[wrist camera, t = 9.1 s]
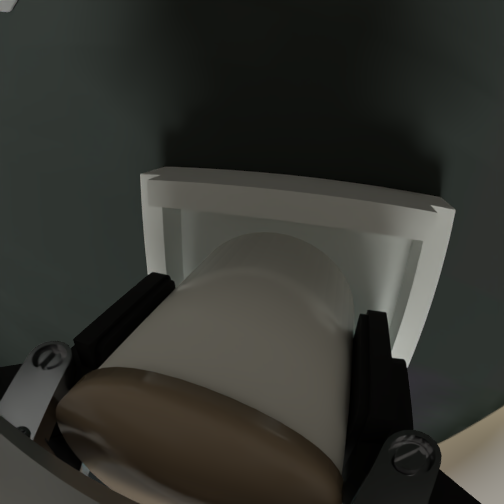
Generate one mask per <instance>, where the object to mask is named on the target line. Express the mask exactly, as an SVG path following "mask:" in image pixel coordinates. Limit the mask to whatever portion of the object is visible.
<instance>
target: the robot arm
mask: <svg viewBox="0 0 504 504" xmlns="http://www.w3.org/2000/svg"><path fill="white" fill-rule="evenodd" d="M175 289H176V287H175V282H174V281H173V280H171V278H170V276H169V275H166V274H161V273H156V272H152V273H150V274H149V275H148V276H146V277H145V278H144V279H143V280H142V281H140V282H139V283H138V284H137V285H136V286H134V287H133V288H132V289H131V290H130V291H128V292H127V293H126V294H125V295H124V296H122V297H121V298H120V299H119V300H118V301H117V302H115V303H114V304H113V305H112V306H111V307H110V308H108V309H107V310H106V311H105V312H104V313H103V314H101V315H100V316H99V317H98V318H97V319H96V320H95V321H93V322H92V323H91V324H90V325H89V326H88V327H87V328H85V329H84V330H83V331H82V332H81V333H80V334H79V335H78V336H76V337H75V338H74V339H73V340H74V343H75V345H74V346H73V347H72V348H70V347H69V345H67V344H66V343H64V342H61V341H49V342H44V343H42V344H40V345H38V346H37V347H35V348H34V349H33V350H32V351H31V352H30V353H29V355H28V356H27V358H26V360H25V361H24V363H23V364H18V365H12V366H5V367H0V504H140V503H138V502H136V501H133V500H131V499H129V498H127V497H125V496H123V495H121V494H119V493H117V492H115V491H113V490H111V489H109V488H107V487H106V486H104V485H102V484H100V483H98V482H96V481H95V480H93V479H91V478H89V477H88V473H89V469H88V468H87V467H86V466H85V465H84V464H83V463H82V462H81V460H80V459H79V458H78V457H77V456H76V454H75V453H74V452H73V451H72V449H71V448H70V446H69V445H68V444H67V442H66V440H65V439H64V437H63V435H62V433H61V431H60V429H59V426H58V423H57V419H56V408H57V404H58V403H59V402H60V400H61V399H62V398H63V397H64V396H65V395H66V394H67V393H68V392H69V391H70V390H71V389H72V388H73V387H74V386H75V384H76V383H77V382H78V381H79V380H80V379H81V378H82V377H83V376H84V375H86V374H87V373H89V372H91V371H93V370H96V369H98V368H99V367H100V366H101V365H102V364H103V363H104V362H105V361H106V360H107V359H108V358H109V357H110V356H111V354H112V353H113V352H114V351H115V350H116V349H117V348H118V347H119V346H120V345H121V344H122V343H123V342H124V341H125V340H126V339H127V338H128V337H129V336H130V335H131V334H132V333H133V332H134V330H135V329H136V328H137V327H138V326H139V325H140V324H141V323H142V322H143V321H144V320H145V319H146V318H147V317H148V316H149V315H150V314H151V313H152V312H153V311H154V310H155V309H156V308H157V307H158V306H159V305H160V304H161V303H162V302H163V301H164V300H165V299H166V298H167V297H168V296H169V295H170V294H171V293H172V292H173V291H174V290H175ZM440 464H441V452H440V448H439V446H438V445H437V443H436V442H435V440H433V439H432V438H431V437H430V436H429V435H427V434H425V433H423V432H421V431H416V430H413V418H412V407H411V398H410V389H409V380H408V373H407V366H406V361H405V360H404V359H399V358H392V353H391V344H390V335H389V327H388V320H387V313H386V312H381V311H374V310H367V313H366V314H361V313H360V315H359V318H358V322H357V326H356V330H355V334H354V338H353V358H352V376H351V391H350V404H349V415H348V426H347V435H346V444H345V453H344V461H343V468H342V477H343V480H344V486H345V491H344V498H343V504H481V503H480V502H479V501H477V500H476V499H475V498H474V497H473V496H471V495H470V494H469V493H468V492H466V491H465V490H464V489H463V488H462V487H460V486H459V485H458V484H457V483H455V482H454V481H453V480H452V479H451V478H449V477H448V476H447V475H446V474H444V473H443V472H442V471H441V470H440V469H439V468H440Z"/></svg>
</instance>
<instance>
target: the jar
mask: <svg viewBox="0 0 504 504" xmlns="http://www.w3.org/2000/svg"><path fill="white" fill-rule="evenodd" d="M353 334H354V303H353V296H352V293H351V290H350V287H349V284H348V282H347V280H346V278H345V276H344V275H343V273H342V272H341V270H340V269H339V267H338V266H337V265H336V264H335V263H334V262H333V261H332V260H331V259H330V258H329V257H328V256H327V255H326V254H324V253H323V252H322V251H321V250H319V249H318V248H316V247H315V246H313V245H311V244H309V243H307V242H305V241H303V240H301V239H298V238H295V237H292V236H290V235H285V234H280V233H272V232H256V233H249V234H244V235H241V236H238V237H235V238H232V239H230V240H228V241H226V242H224V243H223V244H221V245H220V246H218V247H217V248H216V249H215V250H214V251H213V252H212V253H211V254H210V255H209V256H208V257H207V258H206V259H205V260H204V261H203V262H202V263H201V264H199V265H198V266H197V267H196V268H195V269H194V270H193V271H192V272H191V273H190V274H189V275H188V276H187V277H186V279H185V280H184V281H183V282H182V283H181V284H180V285H179V286H178V287H177V288H176V289H175V290H174V291H173V292H172V293H171V294H170V295H169V296H168V297H167V298H166V299H165V300H164V301H163V302H162V303H161V304H160V305H159V306H158V307H157V308H156V309H155V310H154V311H153V312H152V313H151V314H150V315H149V316H148V317H147V318H146V319H145V320H144V321H143V322H142V323H141V324H140V325H139V326H138V327H137V328H136V329H135V330H134V332H133V333H132V334H131V335H130V336H129V337H128V338H127V339H126V340H125V341H124V342H123V343H122V344H121V345H120V346H119V347H118V348H117V349H116V350H115V351H114V352H113V353H112V354H111V356H110V357H109V358H108V359H107V360H106V361H105V362H104V363H103V364H102V365H101V366H100V367H99V368H98V369H96V370H93V371H91V372H89V373H87V374H86V375H84V376H83V377H82V378H81V379H80V380H79V381H78V382H77V383H76V384H75V386H74V387H73V388H72V389H71V390H70V391H69V392H68V393H67V394H66V395H65V396H64V397H63V398H62V399H61V400H60V402H59V403H58V404H57V408H56V419H57V423H58V426H59V429H60V431H61V433H62V435H63V437H64V439H65V440H66V442H67V444H68V445H69V446H70V448H71V449H72V451H73V452H74V453H75V454H76V456H77V457H78V458H79V459H80V460H81V462H82V463H83V464H84V465H85V466H86V467H87V468H88V469H89V470H90V471H91V472H92V473H93V474H94V475H95V476H96V477H97V478H99V479H100V480H101V481H102V482H103V483H104V484H106V485H107V486H108V487H109V488H111V489H112V490H113V491H115V492H117V493H119V494H121V495H123V496H125V497H127V498H129V499H131V500H133V501H136V502H138V503H140V504H343V498H344V491H345V486H344V480H343V477H342V468H343V461H344V453H345V444H346V435H347V426H348V415H349V404H350V391H351V376H352V358H353Z"/></svg>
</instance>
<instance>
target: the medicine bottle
mask: <svg viewBox="0 0 504 504" xmlns="http://www.w3.org/2000/svg"><path fill="white" fill-rule="evenodd" d="M17 1H18V0H0V12H10V11H11V10H12V9H13V8H14V6H15V4H16V3H17Z"/></svg>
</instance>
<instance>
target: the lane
mask: <svg viewBox="0 0 504 504" xmlns="http://www.w3.org/2000/svg"><path fill="white" fill-rule="evenodd" d="M140 179H141V199H142V215H143V228H144V240H145V251H146V261H147V270H148V275H149V274H150V273H152V272H156V273H161V274H166V275H169V276H170V278H171V280H173V281H174V282H175V287H176V288H177V287H178V286H179V285H180V284H181V283H182V282H183V281H184V280H185V279H186V277H187V276H188V275H189V274H190V273H191V272H192V271H193V270H194V269H195V268H196V267H197V266H198V265H199V264H201V263H202V262H203V261H204V260H205V259H206V258H207V257H208V256H209V255H210V254H211V253H212V252H213V251H214V250H215V249H216V248H217V247H218V246H220V245H221V244H223V243H224V242H226V241H228V240H230V239H232V238H235V237H238V236H241V235H244V234H249V233H256V232H272V233H280V234H285V235H290V236H292V237H295V238H298V239H301V240H303V241H305V242H307V243H309V244H311V245H313V246H315V247H316V248H318V249H319V250H321V251H322V252H323V253H324V254H326V255H327V256H328V257H329V258H330V259H331V260H332V261H333V262H334V263H335V264H336V265H337V266H338V267H339V269H340V270H341V272H342V273H343V275H344V276H345V278H346V280H347V282H348V284H349V287H350V290H351V293H352V296H353V303H354V334H355V330H356V326H357V322H358V318H359V315H360V313H361V314H366V313H367V310H374V311H381V312H386V313H387V320H388V327H389V335H390V344H391V353H392V358H399V359H404V360H405V361H406V366H407V367H408V365H409V363H410V360H411V358H412V355H413V353H414V350H415V348H416V345H417V342H418V340H419V337H420V334H421V332H422V329H423V326H424V323H425V321H426V318H427V315H428V312H429V309H430V306H431V303H432V300H433V296H434V293H435V290H436V287H437V283H438V280H439V276H440V273H441V269H442V266H443V262H444V258H445V254H446V250H447V246H448V242H449V238H450V233H451V229H452V224H453V220H454V215H455V209H454V208H453V207H452V206H450V205H449V204H448V203H447V202H446V201H445V200H443V199H442V198H441V197H437V196H432V195H427V194H421V193H416V192H410V191H404V190H398V189H392V188H386V187H379V186H373V185H366V184H359V183H352V182H345V181H337V180H329V179H321V178H313V177H304V176H294V175H285V174H274V173H263V172H251V171H238V170H224V169H208V168H188V167H162V168H159V169H155V170H152V171H149V172H146V173H142V174H140ZM354 334H353V338H354Z"/></svg>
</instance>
